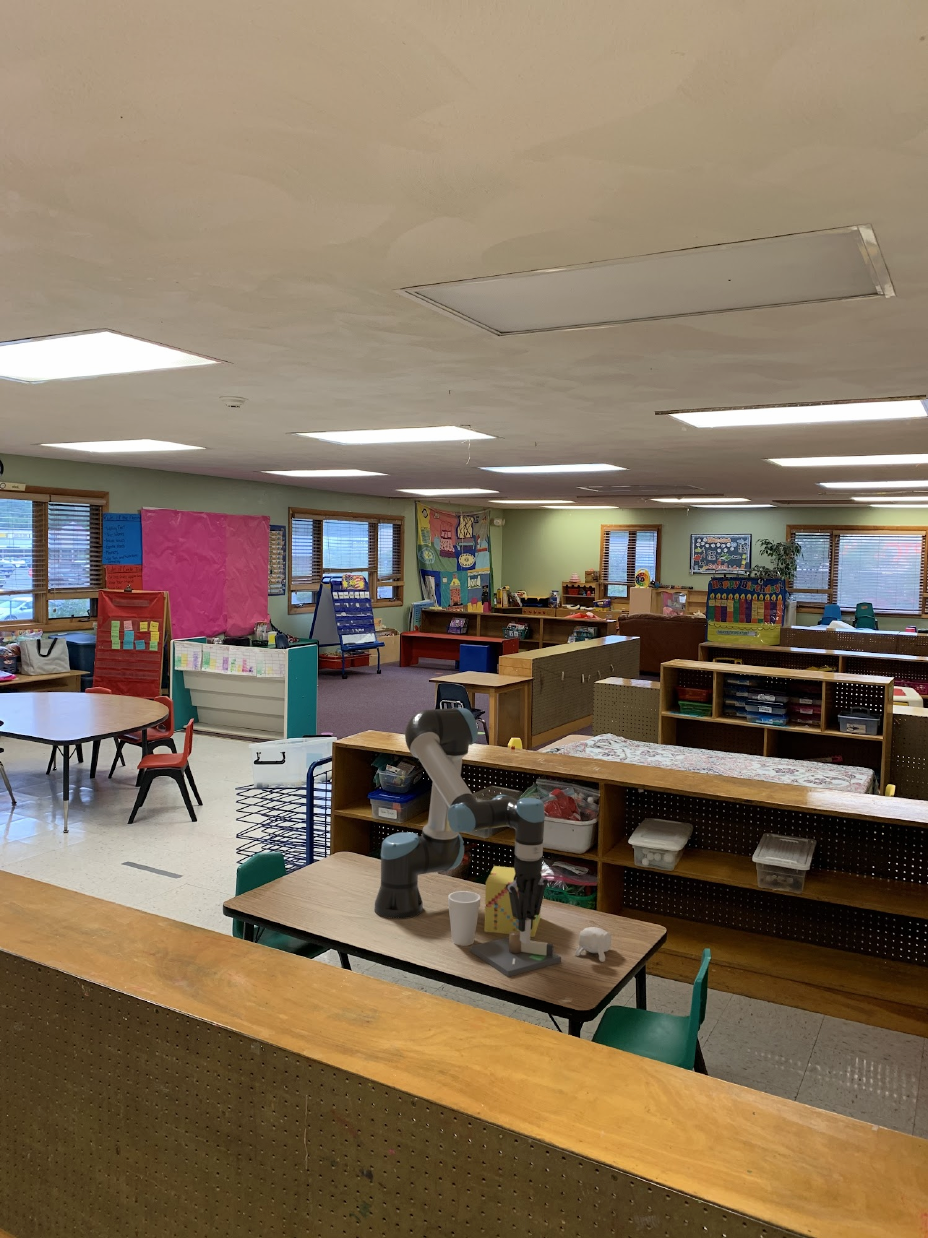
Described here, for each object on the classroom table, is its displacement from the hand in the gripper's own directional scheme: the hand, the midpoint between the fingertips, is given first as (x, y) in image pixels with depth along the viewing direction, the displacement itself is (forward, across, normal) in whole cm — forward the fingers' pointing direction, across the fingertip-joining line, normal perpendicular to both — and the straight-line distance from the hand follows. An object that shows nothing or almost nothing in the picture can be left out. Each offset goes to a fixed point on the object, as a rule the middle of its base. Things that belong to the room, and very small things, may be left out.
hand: (524, 941), depth 234 cm
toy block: (+7, +14, +24) cm, 29 cm away
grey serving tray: (+7, +1, +5) cm, 8 cm away
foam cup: (+7, -6, +21) cm, 23 cm away
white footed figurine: (+7, +21, -5) cm, 22 cm away
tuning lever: (+5, +4, +2) cm, 6 cm away
